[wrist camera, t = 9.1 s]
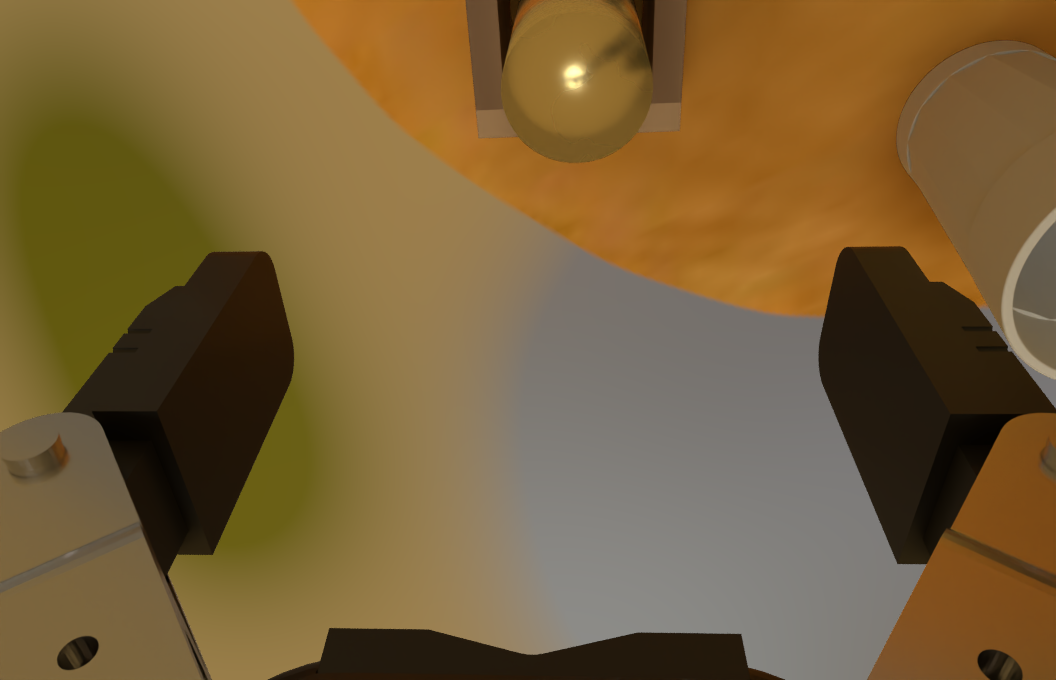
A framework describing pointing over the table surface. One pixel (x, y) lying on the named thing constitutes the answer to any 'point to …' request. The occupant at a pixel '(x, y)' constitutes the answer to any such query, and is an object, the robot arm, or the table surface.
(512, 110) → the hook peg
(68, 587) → the robot arm
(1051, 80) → the cup
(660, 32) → the block
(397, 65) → the table surface
